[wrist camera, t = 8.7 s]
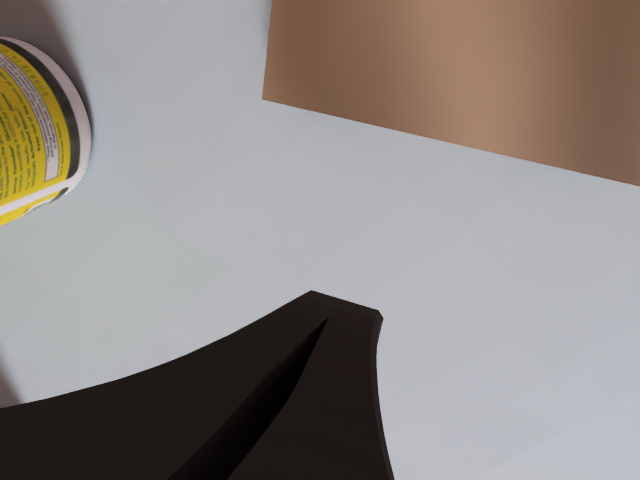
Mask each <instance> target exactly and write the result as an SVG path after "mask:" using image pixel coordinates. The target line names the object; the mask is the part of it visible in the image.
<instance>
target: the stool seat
mask: <svg viewBox="0 0 640 480" xmlns="http://www.w3.org/2000/svg"><path fill="white" fill-rule="evenodd" d="M262 99H263V100H267V101H272V102H276V103H280V104H285V105H289V106H293V107H298V108H302V109H306V110H311V111H315V112H319V113H324V114H328V115H332V116H337V117H341V118H345V119H350V120H354V121H358V122H363V123H367V124H371V125H376V126H380V127H384V128H389V129H393V130H398V131H402V132H406V133H411V134H415V135H419V136H424V137H428V138H432V139H437V140H441V141H445V142H450V143H454V144H458V145H463V146H467V147H471V148H476V149H480V150H484V151H489V152H493V153H497V154H502V155H506V156H510V157H515V158H519V159H523V160H528V161H532V162H537V163H541V164H545V165H550V166H554V167H558V168H563V169H567V170H571V171H576V172H580V173H584V174H589V175H593V176H597V177H602V178H606V179H610V180H615V181H619V182H623V183H628V184H632V185H636V186H640V0H273V2H272V11H271V20H270V30H269V39H268V48H267V58H266V67H265V76H264V86H263V95H262Z"/></svg>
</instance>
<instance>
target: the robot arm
mask: <svg viewBox="0 0 640 480" xmlns="http://www.w3.org/2000/svg"><path fill="white" fill-rule="evenodd" d="M382 322H383V317H382V315H381V314H380V312H379V310H375V309H372V308H369V307H365V306H362V305H359V304H355V303H352V302H349V301H345V300H342V299H339V298H335V297H332V296H329V295H325V294H322V293H319V292H316V291H312V290H311V291H309V292H307V293H305V294H303V295H301V296H300V297H298V298H296V299H294V300H292V301H290V302H289V303H287V304H285V305H283V306H282V307H280V308H278V309H276V310H275V311H273V312H271V313H269V314H267V315H266V316H264V317H262V318H260V319H258V320H257V321H255V322H253V323H251V324H249V325H247V326H245V327H243V328H241V329H239V330H238V331H236V332H234V333H232V334H230V335H228V336H226V337H224V338H222V339H219V340H217V341H215V342H213V343H211V344H209V345H206V346H204V347H202V348H200V349H198V350H195V351H193V352H191V353H189V354H187V355H184V356H182V357H179V358H177V359H175V360H172V361H169V362H167V363H164V364H162V365H159V366H156V367H153V368H150V369H148V370H145V371H142V372H139V373H136V374H133V375H130V376H127V377H124V378H121V379H118V380H115V381H111V382H107V383H104V384H100V385H96V386H93V387H89V388H85V389H81V390H78V391H74V392H70V393H67V394H63V395H59V396H56V397H52V398H47V399H43V400H39V401H34V402H29V403H24V404H20V405H15V406H10V407H5V408H0V480H394V476H393V472H392V468H391V464H390V460H389V455H388V451H387V446H386V441H385V436H384V431H383V424H382V418H381V411H380V404H379V396H378V383H377V367H376V353H377V343H378V339H379V335H380V330H381V326H382Z"/></svg>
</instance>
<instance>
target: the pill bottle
mask: <svg viewBox="0 0 640 480" xmlns="http://www.w3.org/2000/svg"><path fill="white" fill-rule="evenodd" d="M91 140H92V139H91V129H90V124H89V120H88V116H87V113H86V110H85V107H84V104H83V102H82V100H81V98H80V96H79V94H78V92H77V90H76V88H75V87H74V85H73V83H72V82H71V80H70V79H69V77H68V76H67V75H66V74H65V73H64V71H63V70H62V69H61V68H60V67H59V66H58V65H57V64H56V63H55V62H54V61H53V60H52V59H51V58H50V57H49V56H47V55H46V54H45V53H44V52H42V51H41V50H39V49H37V48H36V47H34V46H32V45H30V44H28V43H26V42H23V41H20V40H17V39H13V38H8V37H0V226H1V225H3V224H5V223H7V222H10V221H12V220H14V219H16V218H18V217H21V216H24V215H26V214H28V213H30V212H32V211H34V210H36V209H38V208H40V207H42V206H44V205H46V204H49V203H51V202H53V201H55V200H57V199H59V198H61V197H62V196H64V195H66V194H67V193H68V192H70V191H71V190H72V189H73V188H74V187H75V186H76V185H77V184H78V183H79V181H80V180H81V178H82V177H83V175H84V173H85V171H86V168H87V166H88V162H89V158H90V153H91Z"/></svg>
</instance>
